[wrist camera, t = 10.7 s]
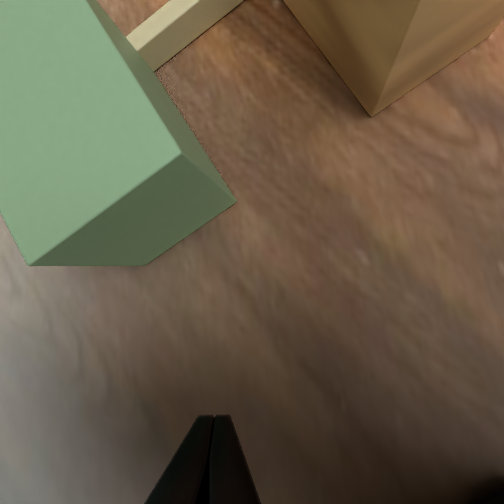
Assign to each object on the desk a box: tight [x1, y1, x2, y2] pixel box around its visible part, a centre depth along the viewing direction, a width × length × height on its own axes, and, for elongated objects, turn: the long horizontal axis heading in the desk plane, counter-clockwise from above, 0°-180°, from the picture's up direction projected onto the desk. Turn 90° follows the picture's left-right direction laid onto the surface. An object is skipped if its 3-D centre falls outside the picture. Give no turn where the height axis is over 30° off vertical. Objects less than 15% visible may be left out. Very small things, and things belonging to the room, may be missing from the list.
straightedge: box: [126, 0, 244, 72], centre depth 18 cm, size 1×24×2 cm, turn 123°
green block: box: [0, 0, 237, 266], centre depth 15 cm, size 10×7×8 cm
